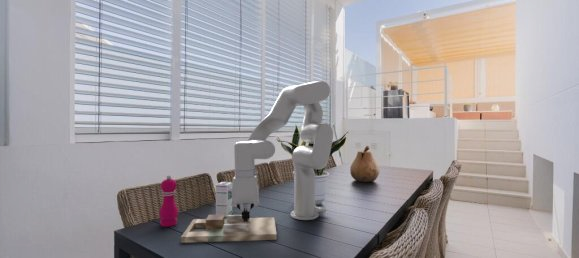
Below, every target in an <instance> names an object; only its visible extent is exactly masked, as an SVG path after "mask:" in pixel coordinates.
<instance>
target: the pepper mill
mask: <svg viewBox="0 0 579 258" xmlns="http://www.w3.org/2000/svg"><path fill="white" fill-rule="evenodd" d="M177 183H178V182H177V181H176V180H175V179H172V175H170V174H168V175H167V176H166V179H163V181H162V182H161V183H160V188H161V190H162V191H161V193H162V194H161V195H162V196H163V201H162V205H161V207H160V209H159V211H158V212H159V215H158V217H159V218H160V227H165V228H167V227H173V226H176V225H177V223H178V218H177V217H178V215H179V208H178V207H177V204H176V201H175V195H176V188H177V186H178V184H177Z"/></svg>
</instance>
